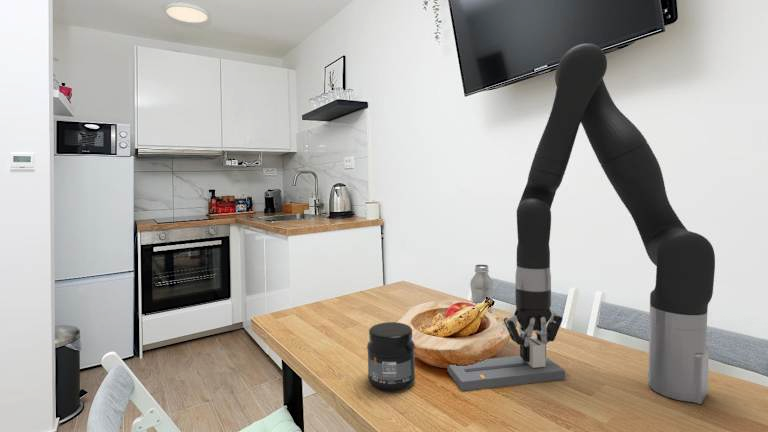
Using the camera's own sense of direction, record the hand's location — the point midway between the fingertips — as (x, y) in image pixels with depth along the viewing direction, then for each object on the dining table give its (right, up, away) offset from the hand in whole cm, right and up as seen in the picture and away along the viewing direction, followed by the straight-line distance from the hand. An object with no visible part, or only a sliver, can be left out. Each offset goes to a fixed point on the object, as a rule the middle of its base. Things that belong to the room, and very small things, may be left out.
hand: (532, 359), depth 87 cm
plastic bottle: (-5, -2, +25) cm, 26 cm away
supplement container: (-33, -4, -3) cm, 33 cm away
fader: (0, -1, 0) cm, 1 cm away
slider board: (-7, -3, -1) cm, 8 cm away
